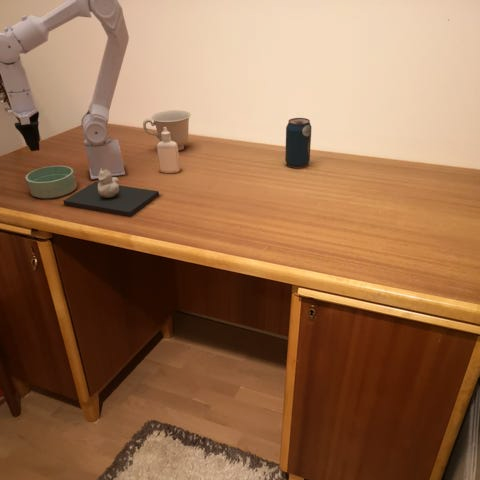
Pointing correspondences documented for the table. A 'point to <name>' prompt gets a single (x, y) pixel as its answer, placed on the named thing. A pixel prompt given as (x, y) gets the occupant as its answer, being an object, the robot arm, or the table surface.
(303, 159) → the soda can
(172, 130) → the teacup
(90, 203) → the desk pad
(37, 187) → the bowl
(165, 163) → the eye dropper bottle
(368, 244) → the table surface
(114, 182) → the rubber duck
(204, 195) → the table surface
